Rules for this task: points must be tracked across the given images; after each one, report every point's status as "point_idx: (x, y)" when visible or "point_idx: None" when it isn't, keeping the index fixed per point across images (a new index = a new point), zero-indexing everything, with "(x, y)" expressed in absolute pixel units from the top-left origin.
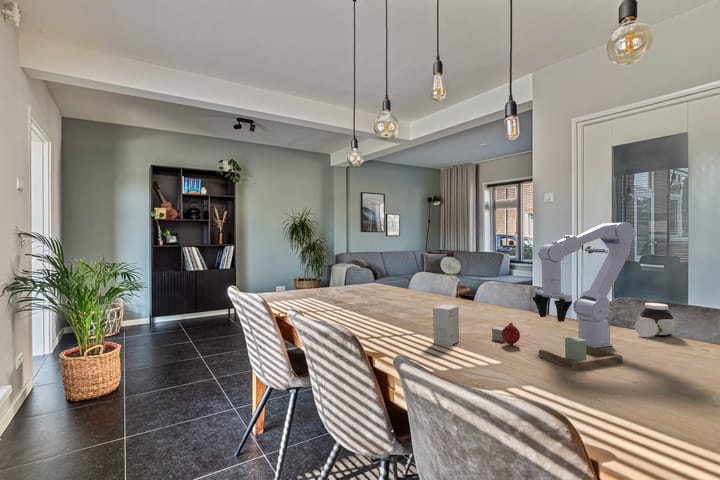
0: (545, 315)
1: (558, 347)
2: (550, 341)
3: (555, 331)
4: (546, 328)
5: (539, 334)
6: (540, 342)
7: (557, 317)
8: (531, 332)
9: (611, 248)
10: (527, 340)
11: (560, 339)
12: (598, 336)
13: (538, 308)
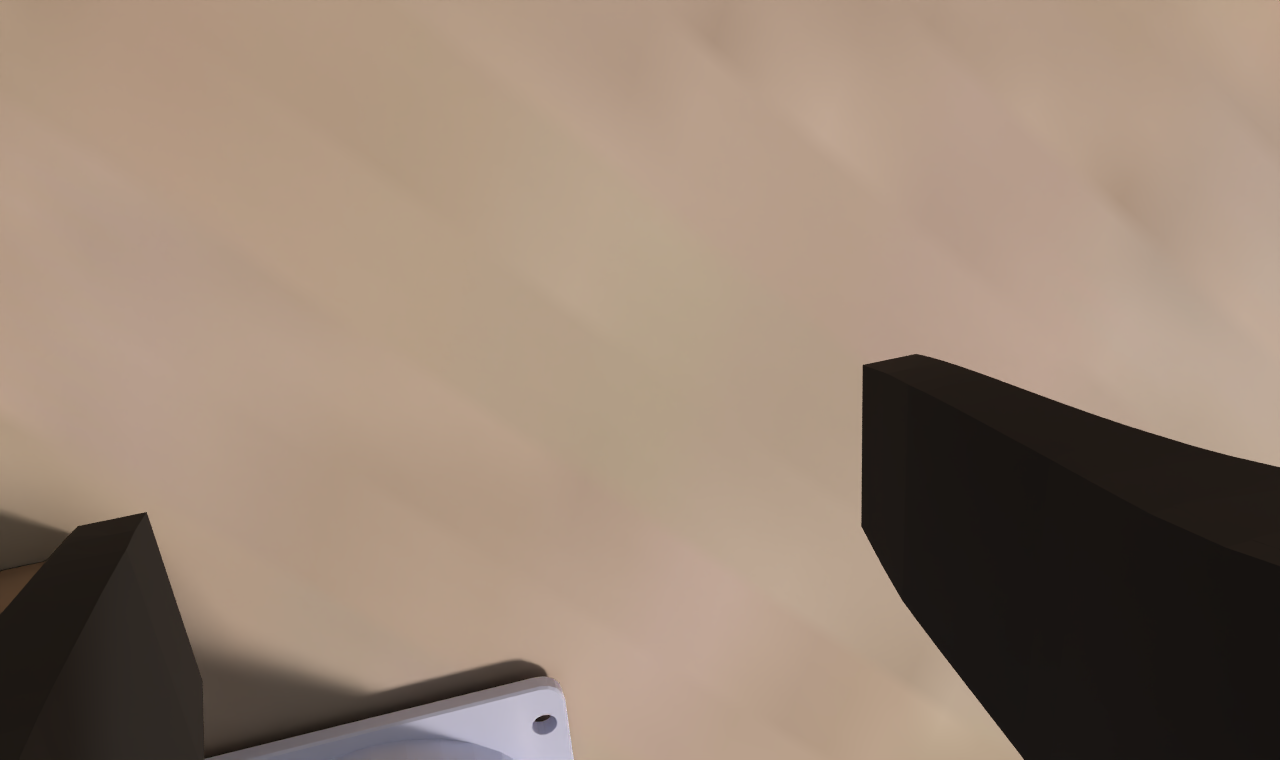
0: (882, 538)
1: (353, 300)
2: (722, 394)
3: None
4: None
5: None
6: (726, 181)
7: (100, 571)
8: (1241, 411)
9: None
10: (918, 18)
11: (765, 607)
12: None
13: (1101, 442)
